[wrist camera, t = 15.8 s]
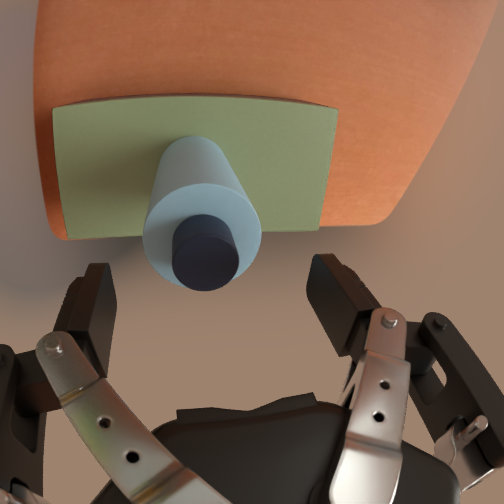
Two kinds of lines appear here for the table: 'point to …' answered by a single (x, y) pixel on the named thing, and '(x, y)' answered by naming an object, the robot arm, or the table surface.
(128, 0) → the table surface
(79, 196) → the lidded gift box
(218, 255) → the water bottle
